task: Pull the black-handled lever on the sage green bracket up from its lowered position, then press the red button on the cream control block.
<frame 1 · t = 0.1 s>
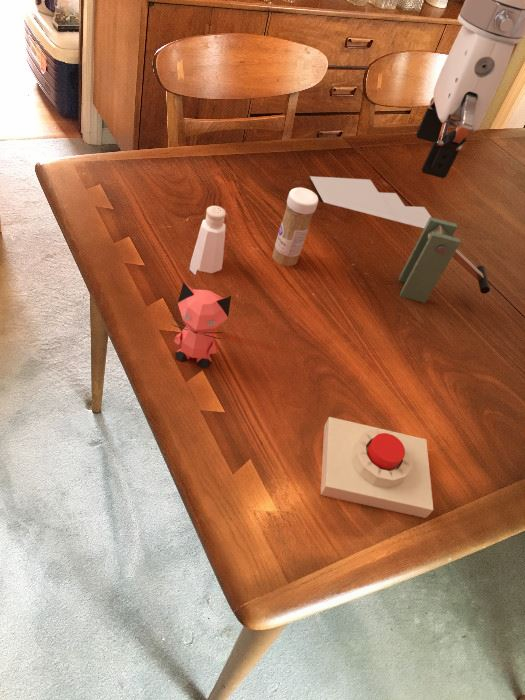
hand: (429, 156, 74), 25 cm above the table, tool pointing down, fingers open, 9 cm apart
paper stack: (382, 218, 109), on the table
control block: (372, 470, 69), on the table
cat figurine: (194, 355, 75), on the table
pepper shaker: (205, 269, 88), on the table
bracket: (408, 295, 94), on the table
button: (386, 451, 66), point 4 cm above the table, slide at 0.1 cm
sprinkles bottle: (282, 265, 93), on the table
lever: (460, 258, 88), point 10 cm above the table, hinge at -28.0°
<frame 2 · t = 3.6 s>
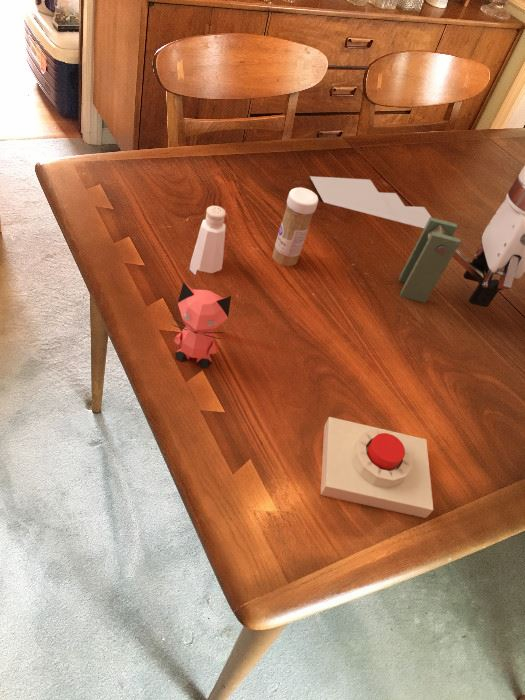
hand: (475, 290, 92), 4 cm above the table, tool pointing down, fingers closed on lever, 5 cm apart
lever: (460, 258, 88), point 10 cm above the table, hinge at -28.0°, touching gripper
everything else where it was.
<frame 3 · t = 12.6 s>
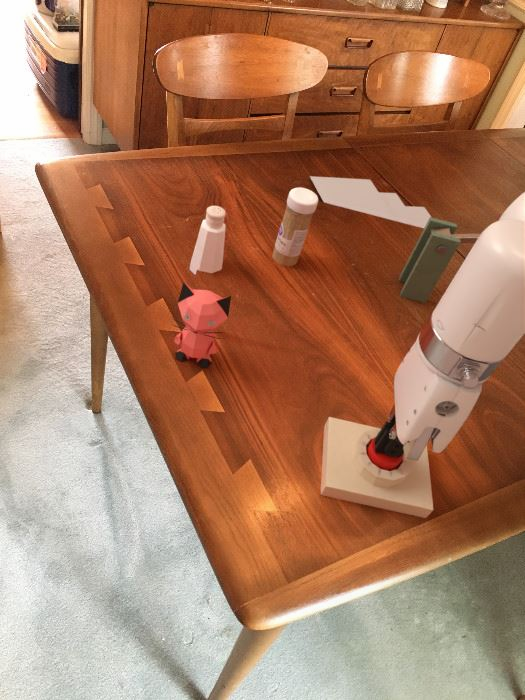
hand: (386, 449, 65), 5 cm above the table, tool pointing down, fingers closed
button: (385, 452, 66), point 4 cm above the table, slide at -0.3 cm, touching gripper
lever: (474, 238, 85), point 14 cm above the table, hinge at 18.4°
everything else where it was.
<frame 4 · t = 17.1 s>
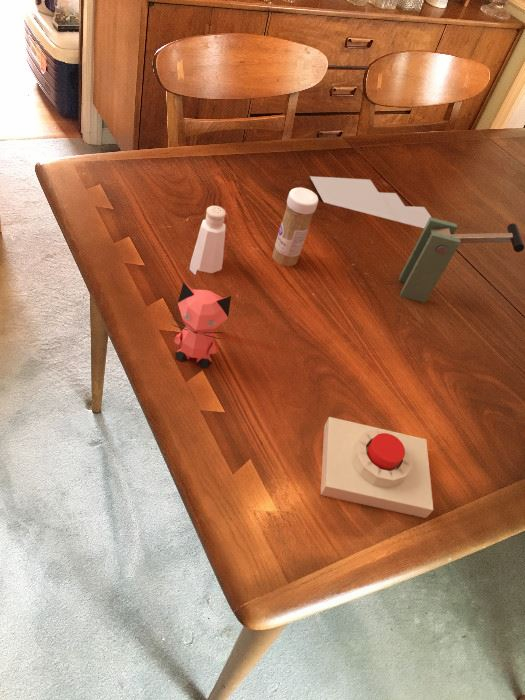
button: (386, 451, 66), point 4 cm above the table, slide at 0.1 cm
everything else where it was.
at the end: lever at +18° (first picture: -28°); button pushed in 1.1 cm at the most during the clip, back to where it started at the end; button slide at 0.1 cm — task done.
